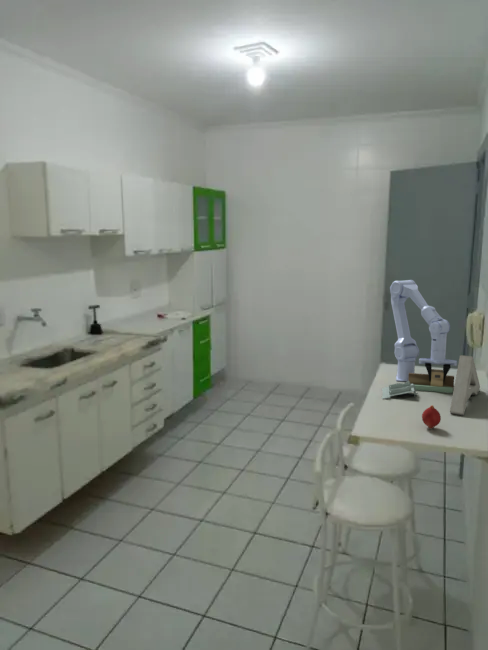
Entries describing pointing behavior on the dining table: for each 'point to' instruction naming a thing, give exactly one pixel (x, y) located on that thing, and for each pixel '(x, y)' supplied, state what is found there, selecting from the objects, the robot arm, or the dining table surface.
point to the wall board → (424, 379)
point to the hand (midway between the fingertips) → (436, 381)
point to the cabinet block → (436, 378)
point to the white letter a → (464, 384)
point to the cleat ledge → (433, 388)
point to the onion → (431, 417)
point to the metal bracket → (398, 389)
